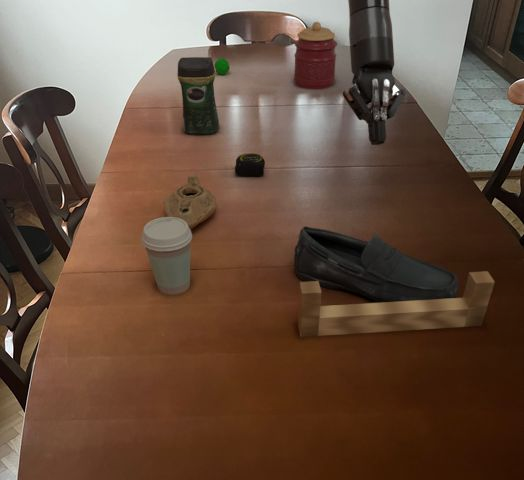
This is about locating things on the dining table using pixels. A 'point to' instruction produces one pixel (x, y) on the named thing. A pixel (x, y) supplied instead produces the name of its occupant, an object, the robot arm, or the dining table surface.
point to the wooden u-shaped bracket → (393, 311)
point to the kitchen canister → (315, 58)
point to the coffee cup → (169, 253)
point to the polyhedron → (222, 66)
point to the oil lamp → (190, 202)
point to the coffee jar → (198, 95)
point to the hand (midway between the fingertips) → (377, 144)
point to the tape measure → (250, 165)
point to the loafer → (369, 268)
